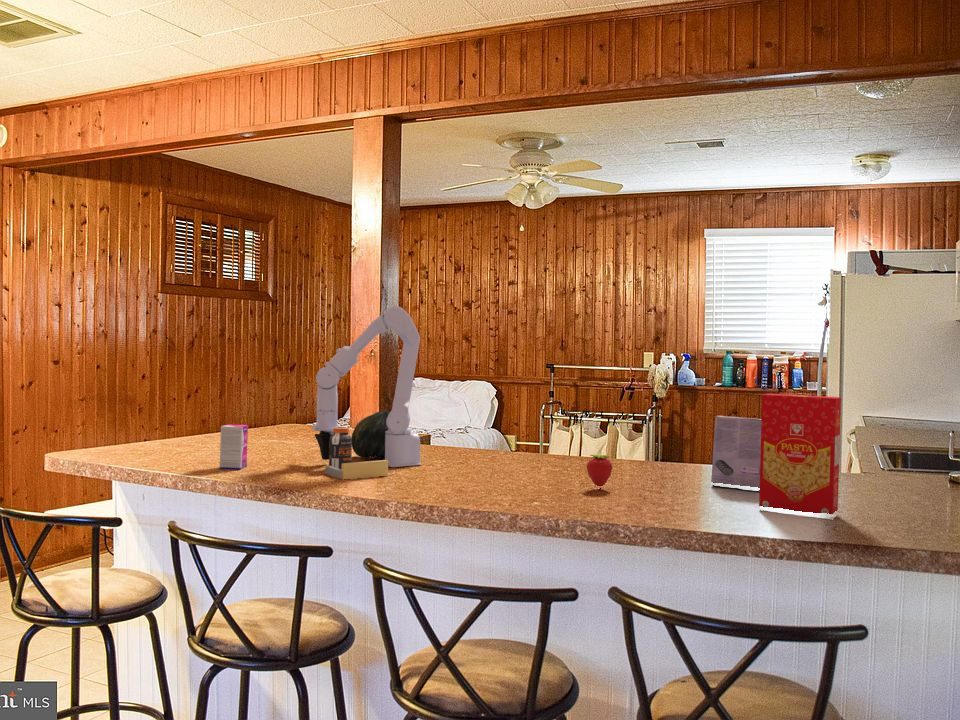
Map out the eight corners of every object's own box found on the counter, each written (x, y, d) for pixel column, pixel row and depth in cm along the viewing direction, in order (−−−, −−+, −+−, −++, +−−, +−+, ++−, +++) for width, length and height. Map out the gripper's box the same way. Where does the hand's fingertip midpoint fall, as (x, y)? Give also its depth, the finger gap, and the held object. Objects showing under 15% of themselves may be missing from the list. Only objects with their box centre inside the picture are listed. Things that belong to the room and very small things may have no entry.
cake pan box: (795, 493, 195) (798, 419, 195) (792, 496, 191) (794, 421, 190) (715, 484, 205) (717, 414, 204) (710, 487, 200) (712, 416, 200)
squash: (344, 436, 244) (355, 402, 235) (391, 436, 250) (404, 403, 241) (352, 473, 234) (364, 439, 225) (401, 472, 241) (415, 439, 232)
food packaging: (758, 510, 174) (762, 394, 173) (765, 506, 178) (768, 393, 177) (832, 520, 165) (836, 398, 165) (837, 516, 170) (841, 397, 169)
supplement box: (241, 470, 213) (241, 426, 213) (218, 469, 213) (219, 426, 213) (248, 466, 219) (248, 424, 219) (226, 466, 219) (226, 424, 219)
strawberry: (581, 490, 193) (582, 448, 193) (593, 485, 200) (594, 445, 199) (605, 493, 190) (606, 450, 190) (616, 488, 197) (617, 447, 196)
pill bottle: (339, 471, 213) (340, 429, 213) (324, 469, 217) (324, 427, 216) (356, 469, 218) (356, 427, 218) (340, 466, 222) (341, 425, 221)
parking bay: (368, 469, 217) (368, 454, 217) (387, 476, 208) (388, 460, 208) (325, 473, 210) (325, 458, 210) (343, 480, 201) (343, 464, 201)
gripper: (303, 408, 228) (302, 456, 228) (324, 413, 216) (323, 463, 217) (326, 407, 232) (326, 455, 232) (348, 412, 220) (347, 462, 221)
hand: (326, 459), depth 225 cm, fingers closed
